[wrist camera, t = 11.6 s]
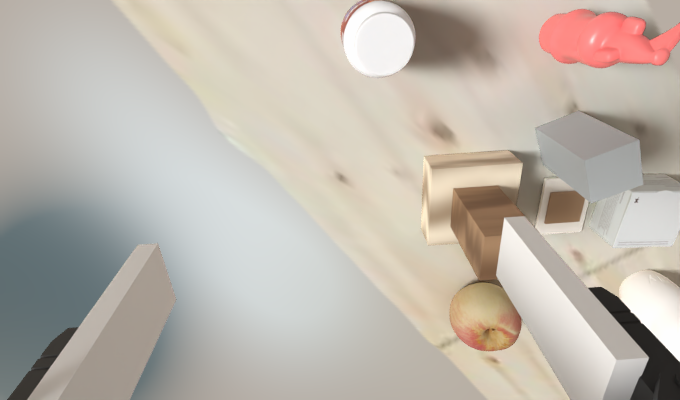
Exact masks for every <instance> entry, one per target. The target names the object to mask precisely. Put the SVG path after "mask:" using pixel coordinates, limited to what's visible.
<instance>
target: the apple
mask: <svg viewBox="0 0 680 400" xmlns="http://www.w3.org/2000/svg"><path fill="white" fill-rule="evenodd" d="M450 322H451V325H452V328H453V330H454V332H455V333H456V334H457V336H458V337H459V338H460V339H461V340H462V341H463V342H464V343H465V344H467V345H468V346H470V347H472V348H475V349H477V350H481V351H497V350H503V349H506V348H509V347H510V346H511V345H513V344H514V343H515V342H516V340H517V338H518V336H519V333H520V330H521V316H520V315H519V313H518V311H517V310H516V308H515V306H514V305H513V303H512V301H511V300H510V298H509V296H508V295H507V293H506V291H505V290H504V289H503V288H501V287H499V286H497V285H494V284H491V283H475V284H471V285H468V286H466V287H464V288H462V289H461V290H460V291H459V292H457V294H456V295H455V296H454V298H453V300H452V302H451V306H450Z"/></svg>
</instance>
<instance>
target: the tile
mask: <svg viewBox="0 0 680 400" xmlns="http://www.w3.org/2000/svg"><path fill="white" fill-rule="evenodd" d="M588 203H589V201H588V200H586V199H585V198H584V197H583V196H581V195H580V194H579V193H578V192H576V191H575V190H574V189H573V188H571V187H570V186H569V185H568V184H566V183H565V182H564V181H563V180H561V179H560V178H559V177H551V178H544V183H543V188H542V193H541V199H540V204H539V209H538V214H537V220H536V225H535V228H536V229H537V230H538V231H539V233H540V234H541V235H544V234H558V233H571V232H581V231H582V227H583V223H584V219H585V215H586V211H587V207H588Z"/></svg>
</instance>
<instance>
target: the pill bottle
mask: <svg viewBox="0 0 680 400" xmlns="http://www.w3.org/2000/svg"><path fill="white" fill-rule="evenodd" d="M341 39H342V43H343V47H344V50H345V53H346V56H347V58H348V60H349V62H350V63H351V65H352V66H353V67H354V68H355V69H356V70H357V71H358V72H360V73H361V74H363V75H365V76H368V77H372V78H383V77H388V76H390V75H393V74H395V73H397V72H398V71H400V70H401V69H402V68H404V67H405V65H406V64H407V63H408V62H409V60H410V58H411V56H412V53H413V50H414V47H415V40H416V34H415V28H414V25H413V22H412V20H411V18H410V17H409V15H408V14H407V13H406V12H405V11H404V10H403V9H402V8H401V7H400V6H398V5H396V4H394V3H392V2H389V1H385V0H361V1H359V2H357V3H356V4H355V5H353V6H352V7H351V8H350V9H349V10H348V12H347V13H346V15H345V17H344V19H343V22H342V26H341Z"/></svg>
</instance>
